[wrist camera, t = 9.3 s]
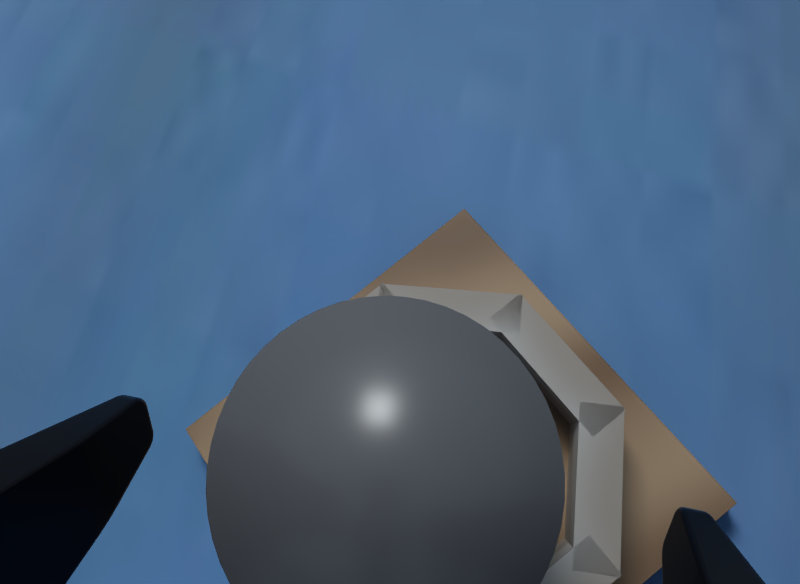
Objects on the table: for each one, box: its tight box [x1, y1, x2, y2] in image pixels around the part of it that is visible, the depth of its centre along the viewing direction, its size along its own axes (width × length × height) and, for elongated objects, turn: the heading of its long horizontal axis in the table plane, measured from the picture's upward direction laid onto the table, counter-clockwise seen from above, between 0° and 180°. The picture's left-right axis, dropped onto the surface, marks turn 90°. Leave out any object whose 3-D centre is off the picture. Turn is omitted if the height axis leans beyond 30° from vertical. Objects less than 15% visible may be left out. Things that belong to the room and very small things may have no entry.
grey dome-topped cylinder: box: [206, 296, 565, 584], centre depth 14 cm, size 6×6×10 cm
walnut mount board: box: [186, 209, 736, 584], centre depth 18 cm, size 12×12×3 cm
